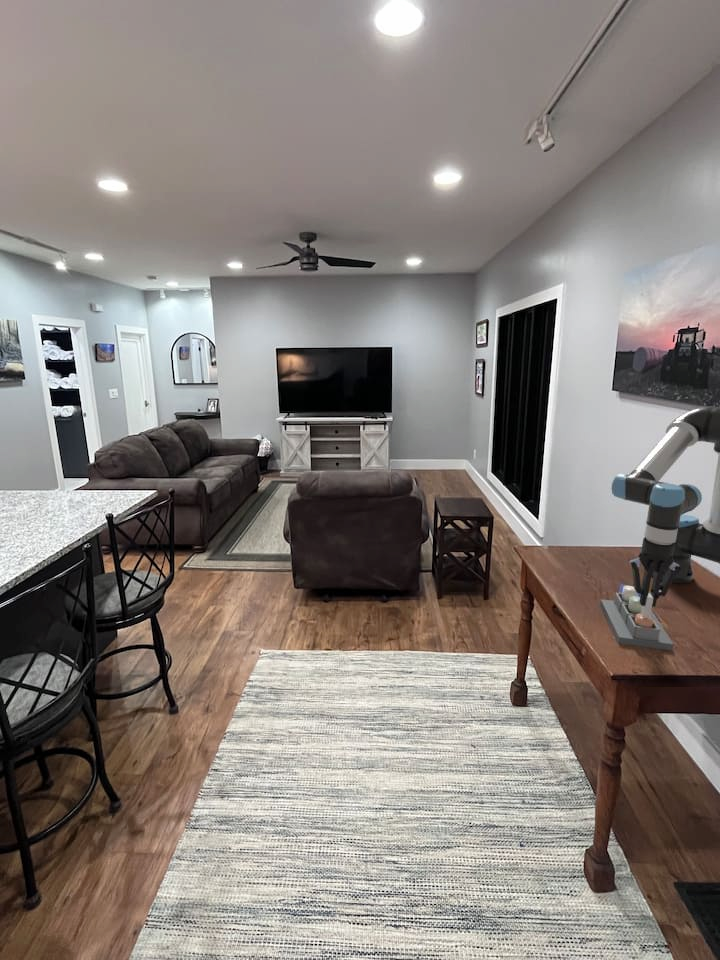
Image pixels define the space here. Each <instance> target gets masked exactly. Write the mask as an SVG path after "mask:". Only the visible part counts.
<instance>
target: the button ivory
mask: <svg viewBox="0 0 720 960" xmlns="http://www.w3.org/2000/svg"><path fill="white" fill-rule="evenodd" d="M632 586H633V585H629V586H624V587H623V591H622V597H621V600H622V601H624V602H629V599H630V597H633V596H635V597H638V593H637V592H636V590H635V589H634V586H633V587H632Z"/></svg>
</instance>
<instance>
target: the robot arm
mask: <svg viewBox="0 0 720 960" xmlns="http://www.w3.org/2000/svg"><path fill="white" fill-rule="evenodd" d="M697 442H706V443H711V444H713V445H714V446H713V451H714V452H715V453H716V454H717V455H718V457H717V464H716V470H715V476H714V483H713V484H714V485H713V490H712V497H711V501H710V502H711V504H710V508H709V516H708V517H709V518H708V519H706V520H704V521H703V522H702V523H700V519H699V518H698V517H696V516H693V515H689V514H686V513H689V512H692V511H694V510H695V509H696V508H698V506H700V504H701V503H702V499H703V497H702V492H701V490H700V489H699V488H698V487H696V486H695V485H693V484H690V483H685V484H684V483H683V484H682V483H681V484H679V485H677V484H674V483H668V482H665V481H664V482H663V481H660V480H661V479H662V478H663V477H664V476H665V474H666V473H667V472H668V471H669V470H670V469H671V467H673V466H674V464H675V463H676V462H677V460H678V459H679V458H680V457H681V456H682V455H683V454H684V452H685V451H686V450H687V449H688V448H689V447H693V446H694V445H696V444H697ZM610 489H611V494H612V495H613V497H616V498H618V499H621V500H624V501H628V502H633V503H637V504H642V505H646V506H648V510H647V516H646V521H645V529H644V534H643V535H644V537H643V540H642V544H641V550H640V553H639V554H638V556H637V557H635V558H634V559H633V558H629V559H628V563H629V564H630V566H631V571H632V580H633V587H634V589H635V590H636V592H637V593H638V594H641V595H640V601H639V602H640V604H641V606H642V609H641V614H642V615H643V617H644V618H650V614H651V611H652V608H655V607H656V606H657V600H658V599H660V597H666V596H667V593H668V591H669V590H670V587H671V585H672V584H689V583H691V582H692V581H693V580H694V579H693V578H694V571H693V565H692V556H694V557H698V558H701V559H704V560H707V561H711V562H715V563H718V564H719V565H720V406H714V405H713V406H712V405H710V406H709V405H708V406H707V405H706V406H701V407H697V408H694V409H691V410H689V411H686V412H685V413H683V414H681V415H680V416H677V418H675V419H674V420H672V422H670V424H669V425H668V426H667V427H666V429H665V434H664V435H663V436H662V437H661V439H660V440H659V441H658V442H657V443H656V444H655V446H653V447H652V449H651V450H650V451H649V452H648V454H646V455H645V457H643V459H642V460H641V461H640V462H639V464H638V465H637V466H636V467H635V468H633V470H632V471H631V472H630V473H629V474H627V473H625V474H624V473H618V474H616V475H615V476H614V479H613V480H612V482H611V488H610ZM640 564H641V565H642V567H643V576H642V580H641V574H640V569H639V568H640ZM651 581H652V582H651ZM650 588H651V589H650Z"/></svg>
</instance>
